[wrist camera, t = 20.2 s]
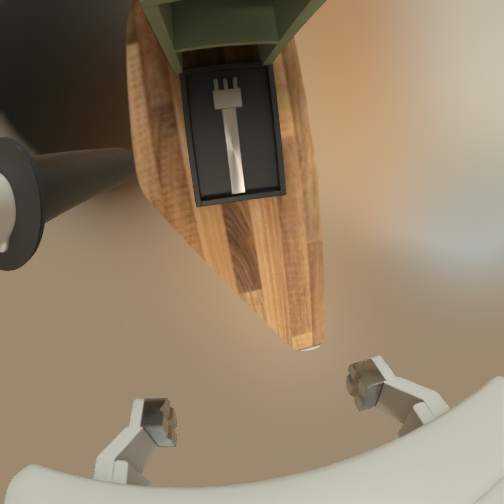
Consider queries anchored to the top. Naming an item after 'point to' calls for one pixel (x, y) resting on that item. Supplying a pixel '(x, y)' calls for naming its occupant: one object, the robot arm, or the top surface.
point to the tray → (249, 127)
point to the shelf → (226, 25)
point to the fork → (231, 130)
